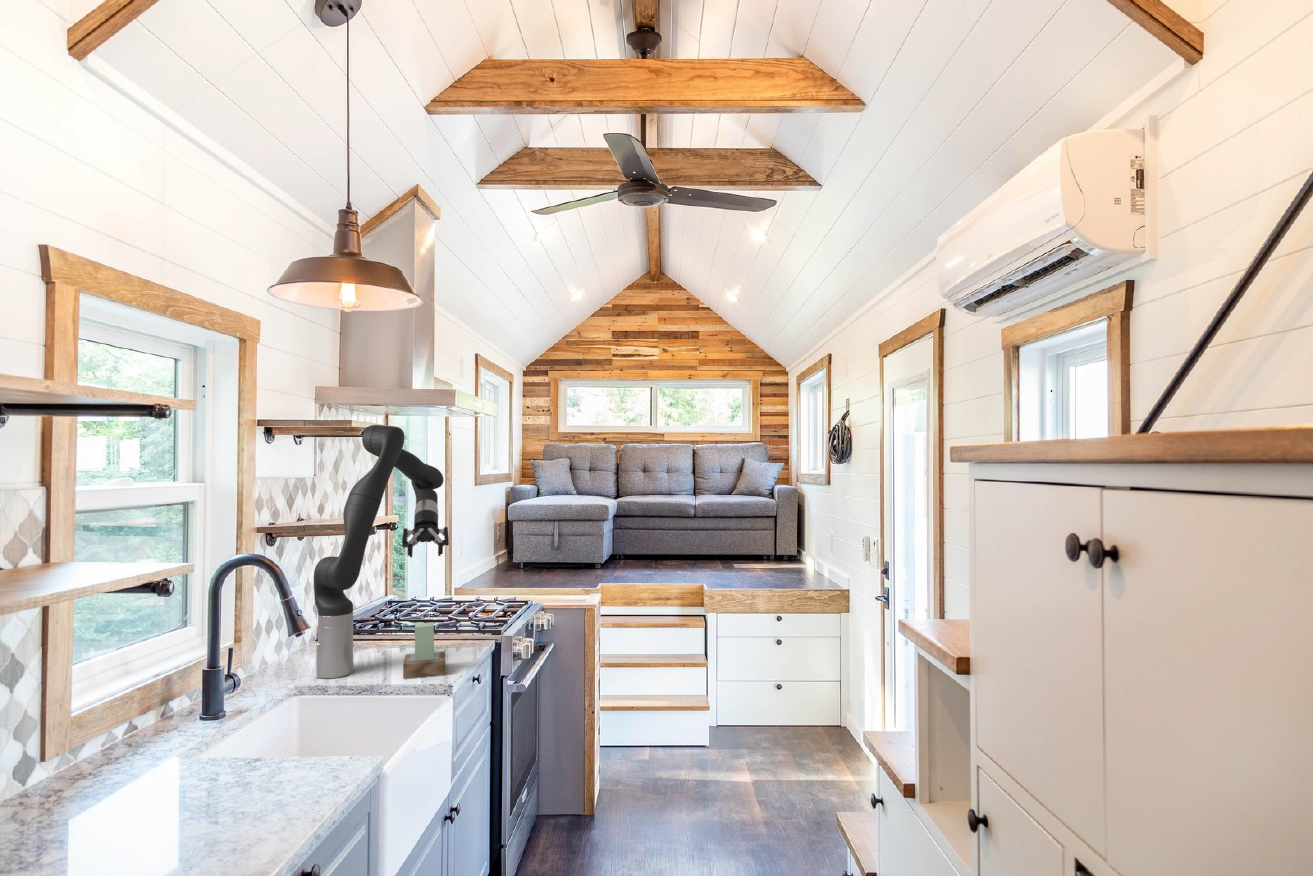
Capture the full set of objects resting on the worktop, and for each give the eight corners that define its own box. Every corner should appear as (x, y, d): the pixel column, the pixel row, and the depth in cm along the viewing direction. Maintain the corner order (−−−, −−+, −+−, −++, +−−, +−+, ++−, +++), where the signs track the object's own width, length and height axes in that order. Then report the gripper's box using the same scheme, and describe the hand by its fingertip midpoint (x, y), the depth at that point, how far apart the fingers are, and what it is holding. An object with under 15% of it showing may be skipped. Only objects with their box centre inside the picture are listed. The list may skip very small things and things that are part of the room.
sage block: (415, 659, 201) (414, 627, 202) (415, 655, 206) (415, 623, 206) (433, 657, 203) (433, 625, 203) (433, 653, 208) (433, 622, 208)
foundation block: (403, 679, 198) (403, 663, 198) (405, 668, 208) (405, 653, 208) (444, 675, 200) (444, 659, 201) (445, 664, 211) (445, 650, 211)
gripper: (403, 509, 233) (400, 548, 222) (448, 508, 237) (448, 546, 226) (404, 524, 238) (402, 563, 227) (448, 523, 242) (448, 561, 231)
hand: (425, 555), depth 226 cm, fingers open, 8 cm apart
